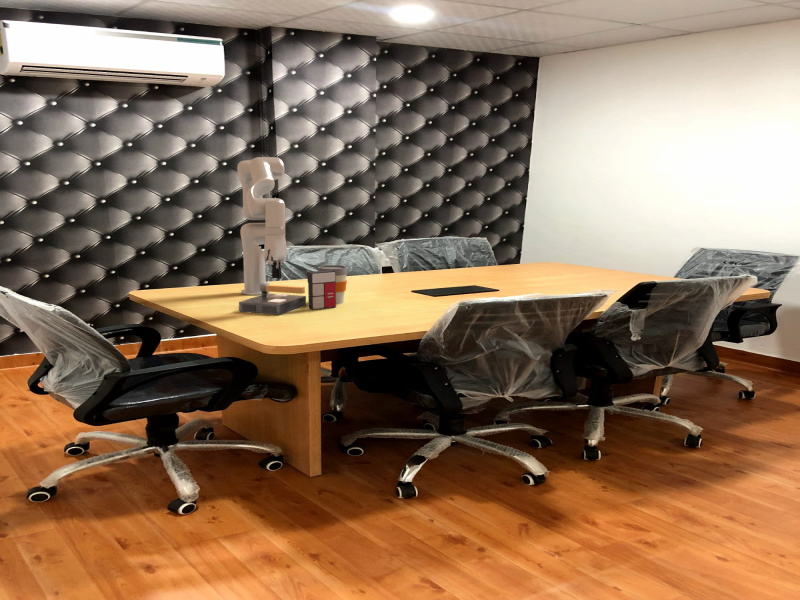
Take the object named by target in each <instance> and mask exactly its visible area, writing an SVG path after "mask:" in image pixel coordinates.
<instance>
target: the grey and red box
mask: <svg viewBox="0 0 800 600" xmlns="http://www.w3.org/2000/svg"><path fill="white" fill-rule="evenodd" d="M306 274H307V276H306V279H307V284H308V285H307V287H308V289H307V293H308V309H309V310H312V311H315V310H324V309H334V308H337V304H336V272H335V271H332V270H327V271H318V270H315V271H314V270H313V271H307V273H306Z"/></svg>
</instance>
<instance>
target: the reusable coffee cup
mask: <svg viewBox="0 0 800 600" xmlns="http://www.w3.org/2000/svg"><path fill="white" fill-rule="evenodd" d="M327 270H332V271H335V272H336V305H339V304H340V305H341V304H343V303H344V300H345V292H346V290H347V283H348V281H347V275H348V267H347V266H345V265H340V264H339V265H334V264H333V265H332V264H331V265H321V266H318V267H317V271H327Z"/></svg>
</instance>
